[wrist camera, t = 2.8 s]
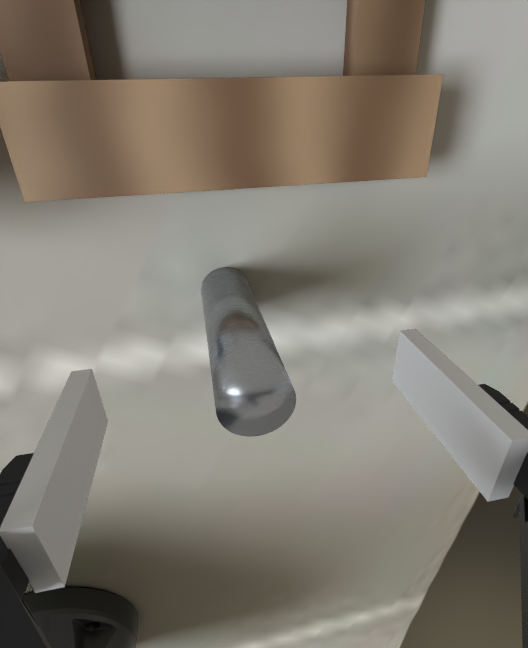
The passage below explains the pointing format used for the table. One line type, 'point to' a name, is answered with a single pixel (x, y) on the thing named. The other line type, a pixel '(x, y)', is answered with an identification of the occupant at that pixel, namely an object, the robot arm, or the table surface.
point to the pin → (243, 358)
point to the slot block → (211, 113)
